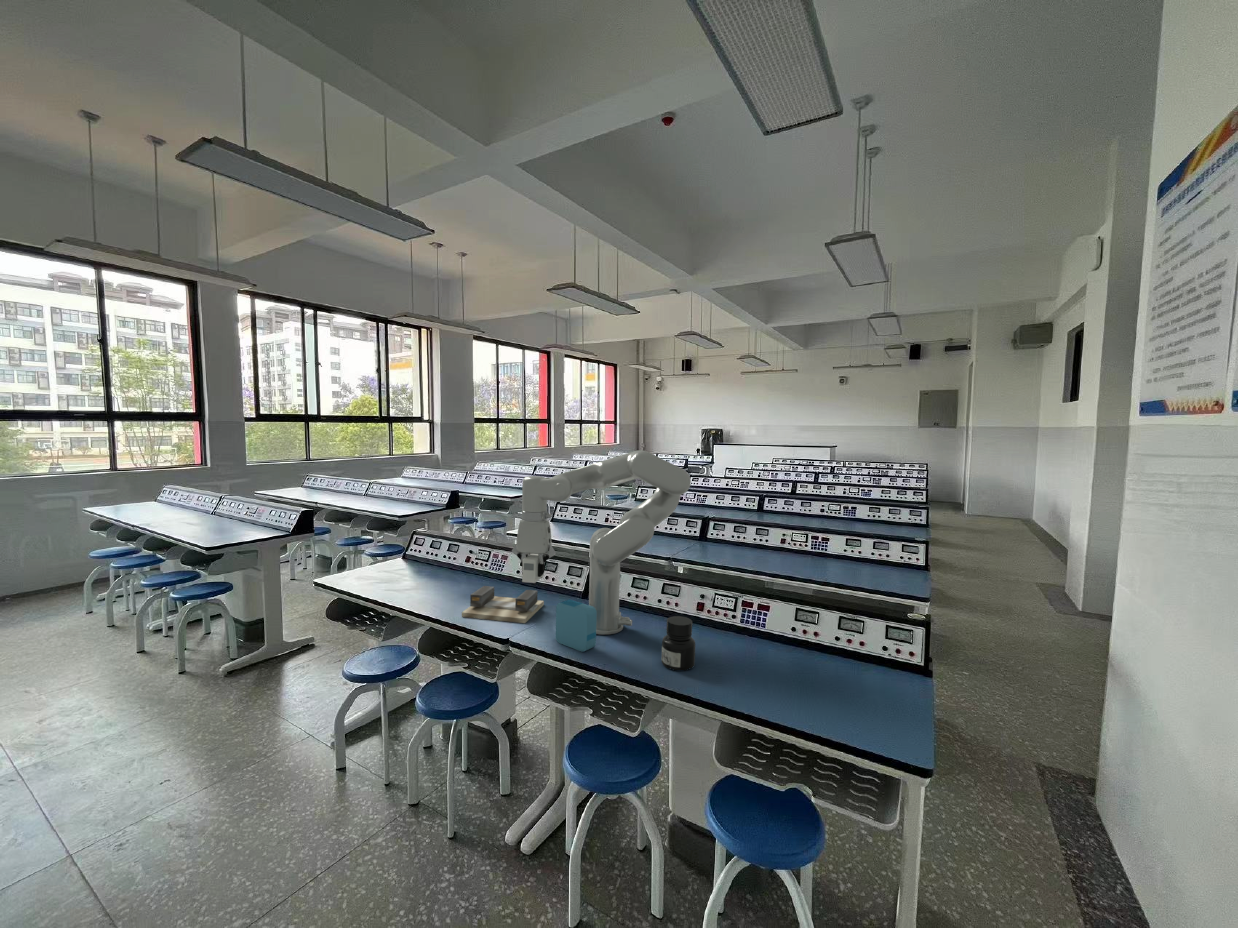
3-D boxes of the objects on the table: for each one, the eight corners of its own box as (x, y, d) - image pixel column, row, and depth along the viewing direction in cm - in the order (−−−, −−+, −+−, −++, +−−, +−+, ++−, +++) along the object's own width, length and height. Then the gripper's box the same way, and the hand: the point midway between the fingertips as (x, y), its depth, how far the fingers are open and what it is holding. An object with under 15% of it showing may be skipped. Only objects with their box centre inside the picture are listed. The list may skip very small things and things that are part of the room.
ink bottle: (655, 658, 139) (656, 616, 138) (683, 654, 142) (685, 612, 141) (671, 674, 130) (672, 629, 129) (701, 670, 133) (703, 625, 132)
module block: (543, 575, 160) (544, 553, 159) (534, 583, 152) (535, 560, 151) (531, 574, 160) (531, 553, 160) (522, 582, 152) (522, 559, 152)
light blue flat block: (596, 648, 144) (597, 607, 143) (585, 653, 141) (586, 611, 140) (565, 637, 152) (566, 598, 151) (555, 641, 148) (555, 601, 147)
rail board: (543, 604, 179) (544, 587, 179) (525, 623, 162) (525, 603, 161) (485, 599, 183) (486, 582, 183) (461, 616, 166) (461, 597, 165)
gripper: (564, 516, 157) (562, 574, 158) (513, 513, 160) (512, 569, 161) (556, 520, 150) (555, 580, 151) (503, 516, 153) (502, 576, 154)
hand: (533, 574), depth 156 cm, fingers closed on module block, 4 cm apart
